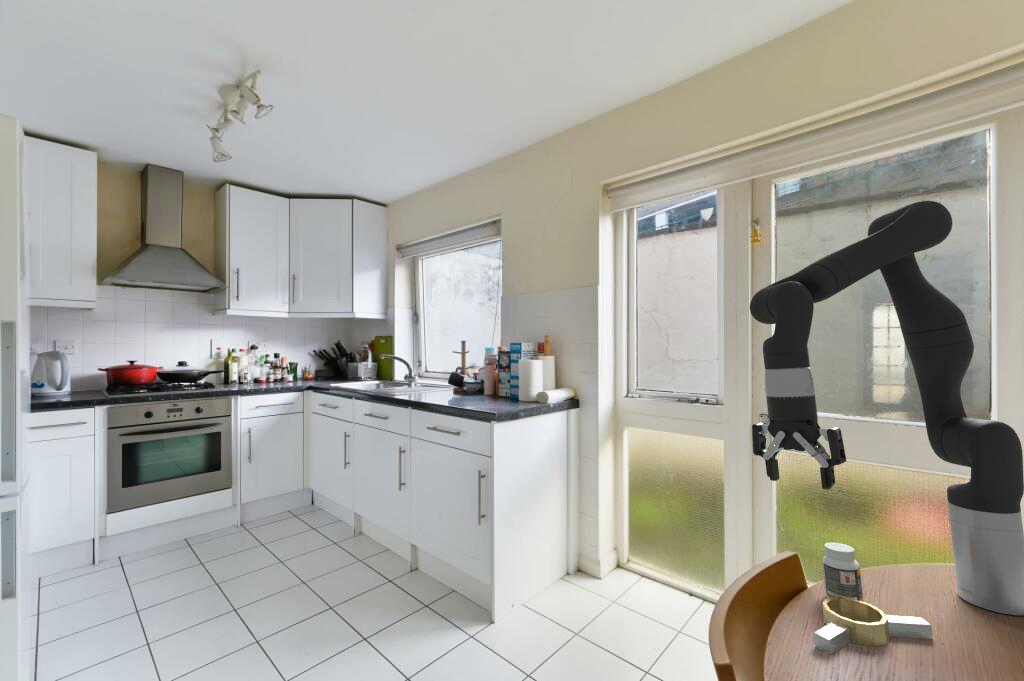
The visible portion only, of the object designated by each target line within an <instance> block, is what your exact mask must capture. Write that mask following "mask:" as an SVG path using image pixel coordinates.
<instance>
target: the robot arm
mask: <svg viewBox="0 0 1024 681" xmlns="http://www.w3.org/2000/svg"><path fill="white" fill-rule="evenodd" d="M952 228H953V217H952V215H951V213H950V211H949V210H948V208H947V207H946V205H944V204H942V203H941V202H939V201H936V200H929V199H928V200H920V201H916V202H912V203H909V204H906V205H904V206H901V207H899V208H896V209H894V210H891V211H889V212H885V213H884V214H881V215H878V216H877V217H875V218H874V219H873V220H872V221H871V222H870V223H869V225H868V228H867V236H866V237H864V238H862V239H859V240H858V241H856V242H853V243H850V244H849V245H846V246H844V247H842V248H840V249H837V250H834V251H833V252H831V253H829V254H827V255H825V256H823V257H820V258H819V259H817V260H815V261H814V262H812V263H811V264H808V265H807V266H805V267H804V268H802V269H800V270H799V271H797V272H795V273H794V274H792V275H788V276H787V277H784V278H782V279H780V280H778V281H775V282H773V283H771V284H769V285H767V286H765V287H764V288H761V289H759V290H758V291H756V293H755V294H754V295H753V297H752V298H751V300H750V303H749V312H750V315H751V316H752V318H753V319H754V320H756V321H757V322H759V323H761V324H765V325H774V331H773V335H771V336H770V337H768V338H766V339H765V340H764V341H763V343H762V354H763V357H762V358H763V363H764V391H765V392H764V393H765V398H766V407H767V415H768V416H767V417H768V419H769V424H765V423H763V422H758V423H755V424H752V425H751V433H752V434H751V435H752V436H751V437H752V453H753V454H754V456H759V457H761V458H763V459H764V462H765V469H766V470H765V471H766V472H765V473H766V476H767V477H768V478H769V480H770V481H772V482H776V481H779V480H780V469H779V468H780V467H779V461H778V458H776V457H777V456H778V455H779V453H780V452H781V451H782V450H785V451H786V450H787V451H791V450H795V451H796V452H807V453H808V455H810V457H812V458H813V459H815V461H816V462H817V463H818V464H819V465H820V467H819V473H820V482H821V488H822V489H823V490H827V491H828V490H830V489H832V488H833V486H835V485H836V476H835V474H836V473H835V466H840V465H842V464H844V463H846V462H847V456H846V451H845V445H844V439H843V435H842V434H843V433H842V429H841V428H840V427H838V426H835V427H830V428H825V427H824V428H821V426H820V425H819V422H818V421H819V420H818V417H819V416H818V409H817V401H816V400H817V399H816V393H815V383H814V376H813V374H812V371H811V370H812V369H811V363H810V355H809V349H808V348H809V347H808V344H809V338H810V334H811V330H812V329H811V328H812V322H813V317H814V316H813V315H814V309H815V308H814V305H815V304H817V303H820V302H823V301H825V300H828V299H829V298H832V297H833V296H835V295H837V294H838V293H841V292H842V291H843V290H845V289H847V288H848V287H851V286H852V285H853V284H856V283H857V282H859V281H861V280H862V279H864V278H866V277H868V276H869V275H871V274H873V273H875V272H876V271H878V270H880V273H881V275H882V277H883V280H884V282H885V285H886V287H887V289H888V291H889V292H888V293H889V295H890V298H891V301H892V304H893V306H894V310H895V313H896V315H897V320H898V322H899V326H900V331H901V334H902V338H903V340H904V344H905V347H906V350H907V353H908V355H909V358H910V361H911V362H910V363H911V365H912V367H913V368H912V369H913V372H914V376H915V379H916V384H917V387H918V389H919V391H918V392H919V394H920V399H921V406H922V411H923V415H924V422H925V429H926V434H927V437H928V441H929V444H930V447H931V448H932V450H933V452H934V454H935V455H936V456H937V457H938V458H939V459H941V460H942V461H944V462H947V463H949V464H953V465H957V466H962V467H967V468H970V479H969V481H968V482H965V483H957V484H956V483H955V484H951V485H949V486H947V489H946V497H947V498H946V499H947V507H948V515H949V523H950V524H949V526H950V534H951V535H950V536H951V543H952V552H953V561H954V562H953V563H954V572H955V579H956V589H957V596H959V597H960V598H961V599H962V600H964V601H965V602H967V603H969V604H971V605H974V606H976V607H978V608H981V609H985V610H988V611H992V612H995V613H999V614H1004V615H1005V614H1006V615H1011V616H1024V526H1023V520H1022V519H1023V517H1022V511H1021V510H1022V509H1021V508H1022V507H1021V502H1022V499H1023V496H1024V461H1023V460H1024V458H1023V457H1024V455H1023V448H1022V444H1021V440H1020V437H1019V436H1018V433H1017V432H1016V430H1015V429H1013V427H1011V426H1010V425H1009V424H1007V423H1005V422H1003V421H999V420H992V419H983V418H972V417H968V416H967V413H966V411H965V407H964V405H963V399H962V395H961V389H962V383H963V380H964V378H965V375H966V373H967V371H968V368H969V366H970V364H971V362H972V358H973V356H974V351H975V350H974V349H975V345H974V341H973V337H972V333H971V330H970V328H969V324H968V321H967V319H966V316H965V314H964V312H963V310H961V308H960V307H959V306H958V305H957V304H956V303H955V302H954V301H953V300H951V299H950V298H949V297H947V295H945V294H944V293H942V292H941V291H940V290H939V289H938V288H936V287H935V286H934V285H933V284H932V283H930V281H928V280H927V278H926V277H925V276H924V274H923V272H922V271H921V269H920V266H919V263H918V262H917V259H916V258H917V257H916V255H915V253H920V252H921V251H927V250H929V249H931V248H933V247H935V246H937V245H939V244H941V243H942V242H943V241H945V240H947V238H948V236H950V233H951V231H952ZM768 433H769V434H770V435H771V437H772V438H773V440H772V441H771V442H770V444H768V446H767V444H766V442H767V441H766V436H767V435H768ZM821 436H823V438H824V440H825V441H827V442H828V447H829V451H830V452H829V453H830V454H829V453H828V452H827V450H826V449H825V447H824V446H823V445H822V444H821V442H820V441H818V440H819V439H820V437H821Z"/></svg>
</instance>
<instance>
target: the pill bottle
mask: <svg viewBox="0 0 1024 681" xmlns="http://www.w3.org/2000/svg"><path fill="white" fill-rule="evenodd" d="M823 550H824V553H825V554H826V555H824V556H823V557H822V567H823V569H822V571H823V580H824V581H823V582H824V591H825V596H826V598H832V597H844V598H852V599H856V600H859V601H862V602H864V595H863V594H864V593H863V587H862V577H861V576H862V575H861V567H860V563H859V562H858V561H857V560H856V559H855V558H856V551H855V548H854V547H853V546H850V545H848V544H845V543H839V542H834V541H833V542H830V541H829V542H825V543H824V544H823Z"/></svg>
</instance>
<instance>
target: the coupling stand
mask: <svg viewBox="0 0 1024 681" xmlns="http://www.w3.org/2000/svg"><path fill="white" fill-rule="evenodd" d="M822 613H823V615H822V617H823V623H824V626H822V627H821V628H819V629H817V630H815V631H814V632H813V638H814V639H813V640H814V647H815V648H816V649H818V650H820V651H822V652H824V651H825V652H824V653H826V652H827V653H826V654H828V653H829V654H828V655H830V654H831V653H833V652H834V653H836V652H837V651H838V649H839V650H840V649H842V648H844V647H845V646H846V645H848V644H849V643H851V642H852V643H854V644H857V645H863V644H864V645H863V646H869V647H878V646H880V647H881V646H885V645H887V644H888V643H889V642H890V639H891V637H895V638H896V637H898V638H911V639H923V640H924V639H925V640H933V639H934V638H933V630H932V624H930V623H929V622H928V621H927V620H926V619H924V618H923V617H921V616H917V617H916V616H908V615H907V616H905V615H891V614H885V613H884V611H883V610H882V609H879V608H878V607H876V606H874V605H872V604H871V603H867V602H865V601H863V602H862V601H859V600H856V599H852V598H844V597H832V598H827V597H826V598H825V599H824V600H823V602H822ZM835 651H836V652H835ZM834 653H833V654H834ZM831 655H832V654H831Z"/></svg>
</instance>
